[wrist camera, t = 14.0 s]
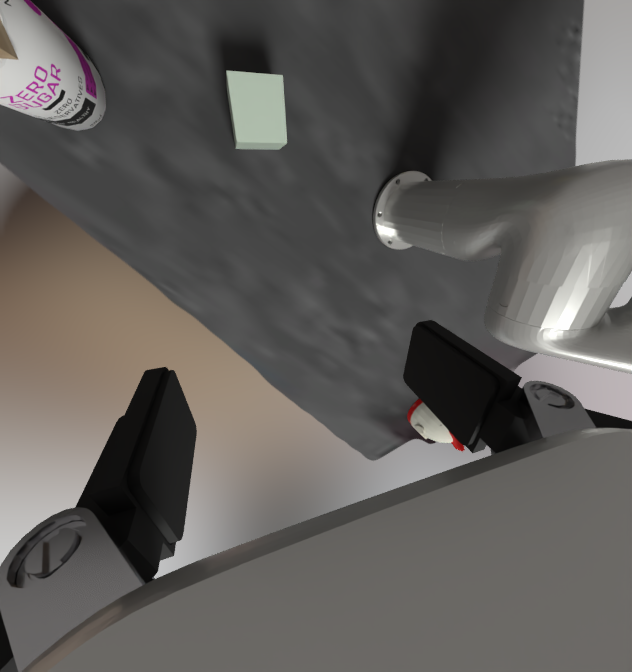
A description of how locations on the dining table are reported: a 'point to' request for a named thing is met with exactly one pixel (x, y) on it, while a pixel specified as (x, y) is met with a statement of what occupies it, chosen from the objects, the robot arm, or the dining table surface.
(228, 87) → the sage cube
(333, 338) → the dining table surface
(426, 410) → the white and red dome
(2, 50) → the beech cube
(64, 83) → the supplement can
